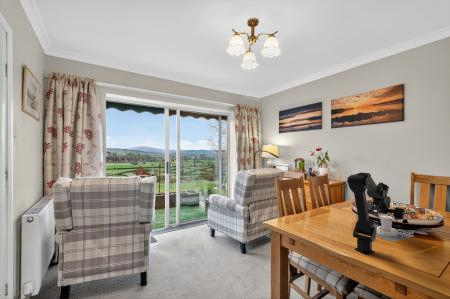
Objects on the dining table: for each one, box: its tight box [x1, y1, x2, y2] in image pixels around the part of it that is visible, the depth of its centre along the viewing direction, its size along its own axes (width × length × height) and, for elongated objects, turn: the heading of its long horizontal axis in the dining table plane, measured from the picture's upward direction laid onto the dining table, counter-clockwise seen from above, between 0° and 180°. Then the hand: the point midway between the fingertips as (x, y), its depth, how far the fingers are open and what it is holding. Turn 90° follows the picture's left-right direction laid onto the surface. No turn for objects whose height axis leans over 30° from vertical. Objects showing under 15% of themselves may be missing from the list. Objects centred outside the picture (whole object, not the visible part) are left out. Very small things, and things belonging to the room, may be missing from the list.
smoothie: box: [379, 213, 394, 232], centre depth 128 cm, size 6×6×14 cm
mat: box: [375, 227, 414, 243], centre depth 128 cm, size 20×18×1 cm
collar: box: [376, 225, 398, 237], centre depth 128 cm, size 10×10×2 cm
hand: (387, 218), depth 129 cm, fingers open, 9 cm apart
